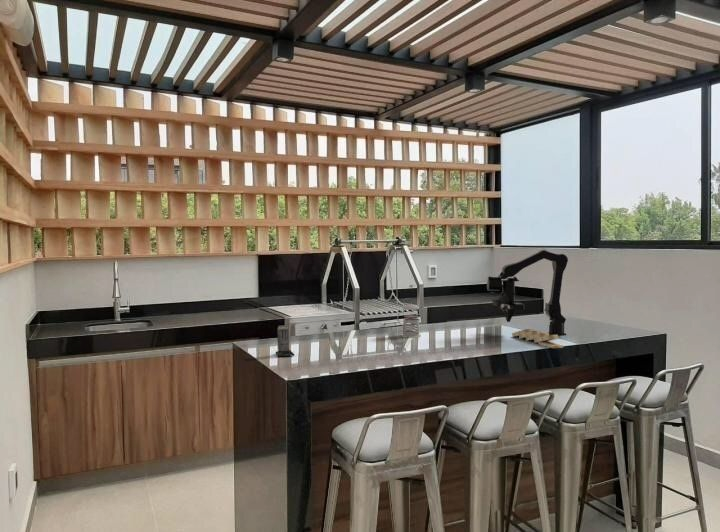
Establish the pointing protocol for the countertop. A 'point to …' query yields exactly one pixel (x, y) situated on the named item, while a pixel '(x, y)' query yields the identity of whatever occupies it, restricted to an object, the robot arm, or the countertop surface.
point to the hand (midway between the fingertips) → (508, 321)
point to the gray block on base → (283, 341)
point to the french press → (412, 320)
